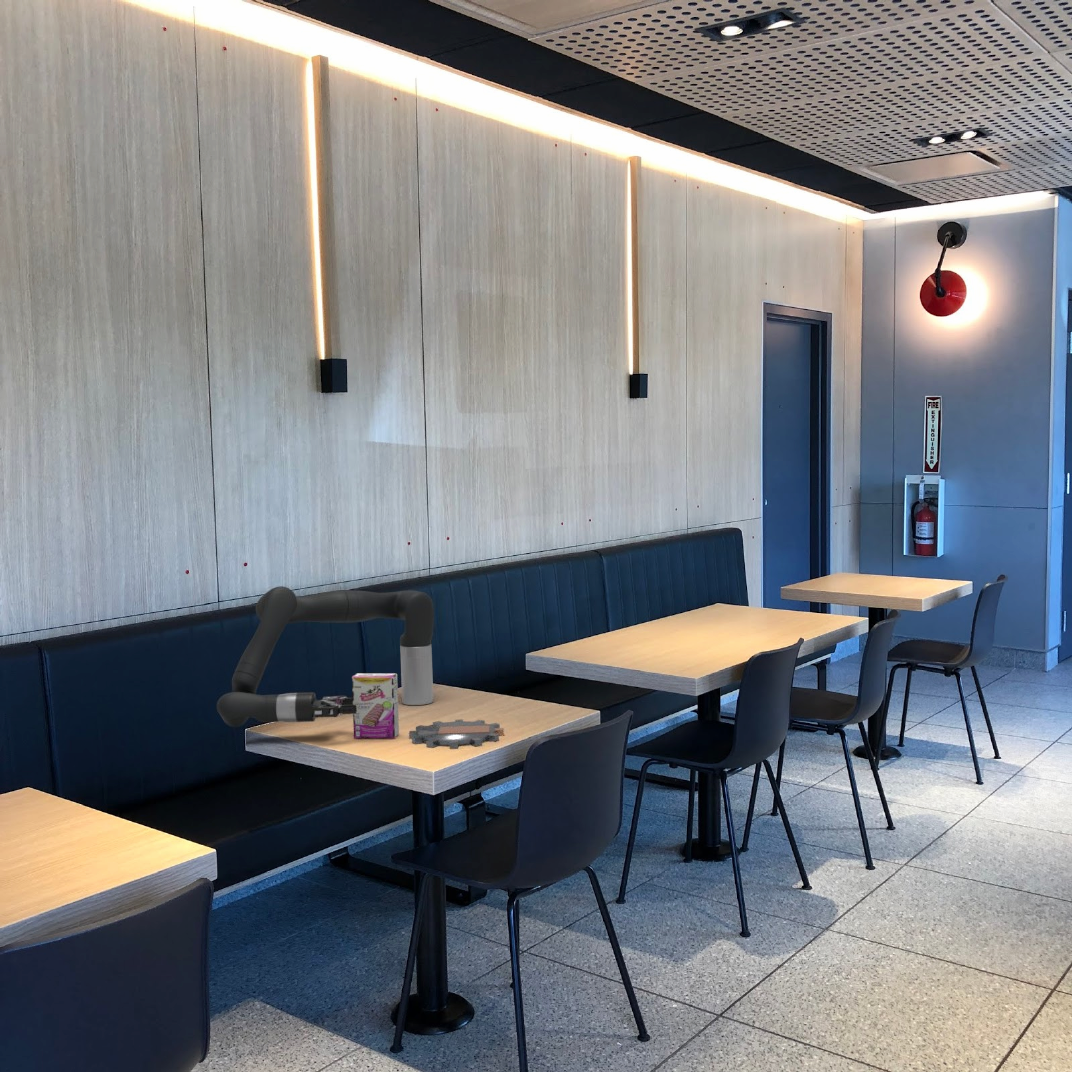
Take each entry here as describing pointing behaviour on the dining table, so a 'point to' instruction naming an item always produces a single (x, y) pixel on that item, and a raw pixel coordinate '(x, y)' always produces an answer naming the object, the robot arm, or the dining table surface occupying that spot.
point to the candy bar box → (375, 705)
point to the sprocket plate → (456, 733)
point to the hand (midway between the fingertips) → (358, 705)
